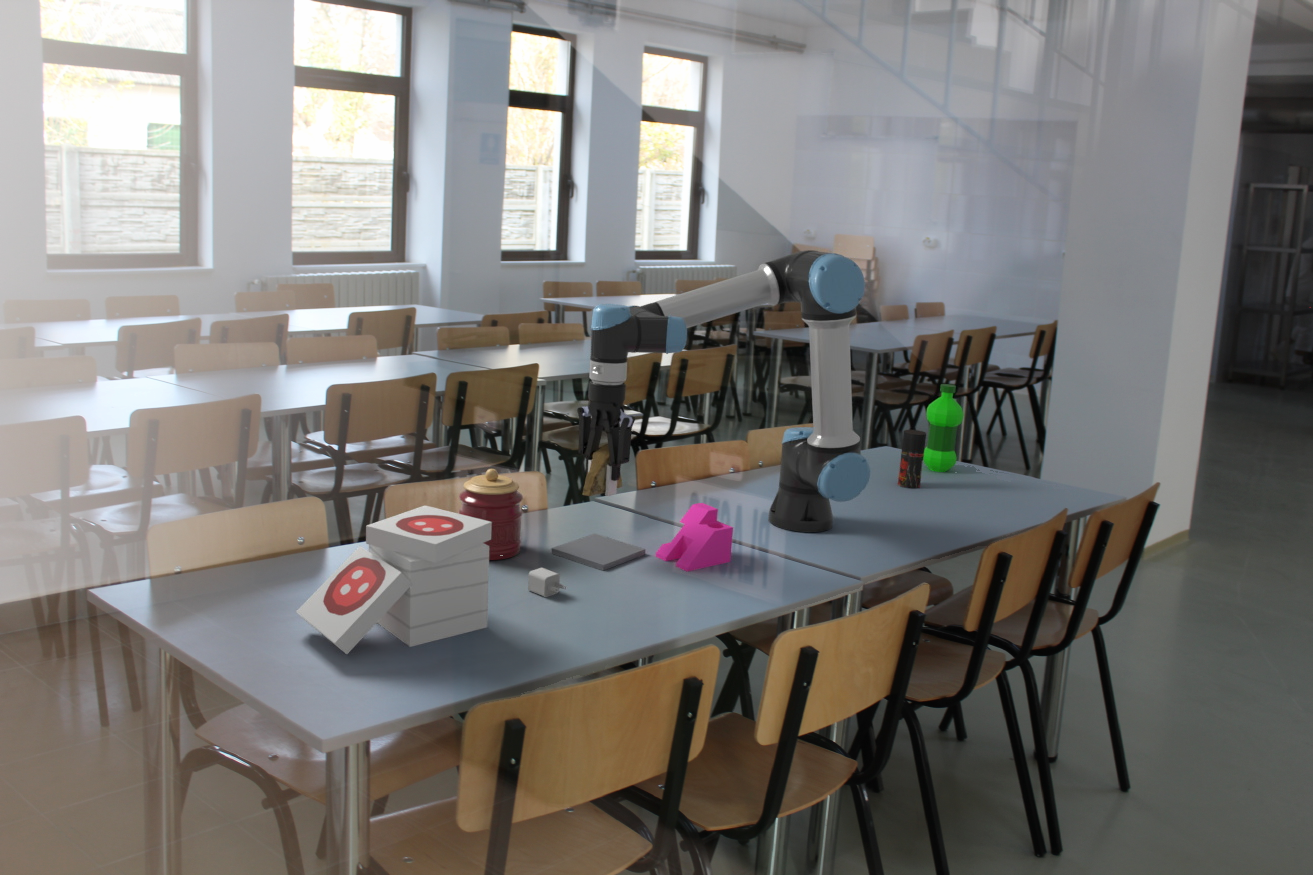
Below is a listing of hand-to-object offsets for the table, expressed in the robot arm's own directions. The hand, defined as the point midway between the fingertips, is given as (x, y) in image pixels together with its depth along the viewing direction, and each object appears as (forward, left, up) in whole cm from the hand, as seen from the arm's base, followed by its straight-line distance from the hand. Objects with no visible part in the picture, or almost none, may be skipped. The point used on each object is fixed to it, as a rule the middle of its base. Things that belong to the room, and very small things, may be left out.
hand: (601, 491), depth 225 cm
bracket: (-16, -12, -14) cm, 24 cm away
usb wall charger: (-8, +24, -14) cm, 29 cm away
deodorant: (-23, -105, -14) cm, 108 cm away
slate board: (0, 0, -14) cm, 14 cm away
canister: (+17, +15, -14) cm, 27 cm away
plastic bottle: (-22, -129, -14) cm, 131 cm away
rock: (0, 0, 0) cm, 0 cm away
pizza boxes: (-1, +54, -14) cm, 56 cm away
